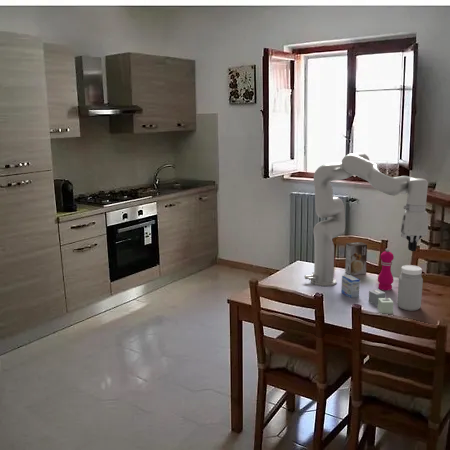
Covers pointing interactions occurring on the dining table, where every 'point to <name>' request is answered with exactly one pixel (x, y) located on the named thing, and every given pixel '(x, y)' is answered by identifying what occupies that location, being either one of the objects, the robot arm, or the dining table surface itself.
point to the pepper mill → (386, 271)
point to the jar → (410, 288)
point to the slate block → (376, 296)
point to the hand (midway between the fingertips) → (411, 250)
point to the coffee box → (356, 258)
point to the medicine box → (350, 286)
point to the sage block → (385, 305)
